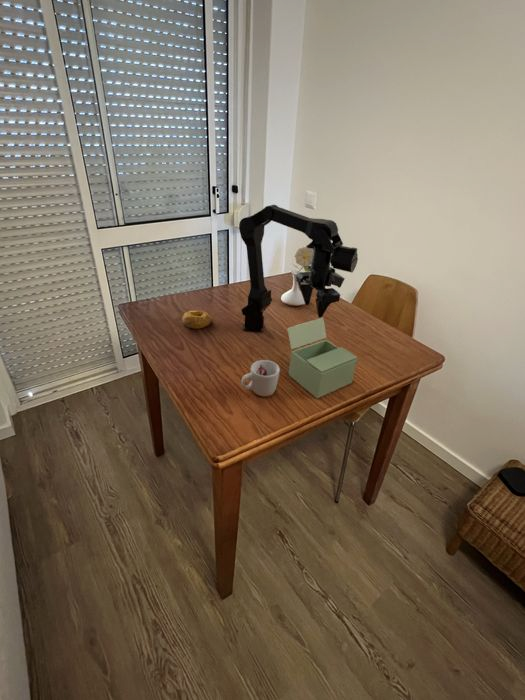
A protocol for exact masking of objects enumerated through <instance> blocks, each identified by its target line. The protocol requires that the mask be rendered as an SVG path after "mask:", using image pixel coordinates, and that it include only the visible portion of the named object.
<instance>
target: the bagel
mask: <svg viewBox="0 0 525 700" xmlns="http://www.w3.org/2000/svg"><path fill="white" fill-rule="evenodd" d="M181 320H182V323H183V324H184V325H185V326H186V327H187V328H190V329H195V330H197V329H198V330H199V329H204V328H206V327H208V326H209V325H210V324H211V323H212V322H213V317H211V315H209V313H208V312H206V311H205V310H189V311H187V312H185V313H184V314H183V315H182V319H181Z"/></svg>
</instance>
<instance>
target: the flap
mask: <svg viewBox="0 0 525 700" xmlns="http://www.w3.org/2000/svg"><path fill="white" fill-rule="evenodd" d="M286 329H287V334H288V339H289V340H288V341H289V346H290V350H295V349H298V348H301V347H304V346H307V345H310V344H313V343H316V342H319V341H322V340H325V339H327V332H326V325H325V319H324V317H320V318H319V317H318V318H316V319H312V320H310V321H306V322H303V323H300V324H296V325H293V326H289V327H287V328H286Z"/></svg>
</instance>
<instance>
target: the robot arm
mask: <svg viewBox="0 0 525 700" xmlns="http://www.w3.org/2000/svg"><path fill="white" fill-rule="evenodd" d="M271 222H274V223H277V224H280V225H283V226H285V227H288V228H290V229H293V230H296V231H298V232H301V233H303V235H305V236H306V237H307V238H308V239H309V240H311V242H309V243H308V244H307V245H306V246H305V247H307V248H310V249H313V253H312V260H311V265H309V266H308V270H310V271H309V272H306V271H302V272H299V273H298V274H297V277H296V281H297V282H298V288H299V290H300V291H301V293H302V296H303V299H304V302H305V304H304V305H305V306H309V304H310V302H311V298H312V294H313V290H314V289H315V290H316V298H315V305H316V313H317V317H318V319H319V318H323V316H324V314H325V312H326V311H327V309H328V308H329V306H330V305H331V304H335V303H338V302H340V299H341V294H340V293H339V292H338V291H337V290H336V289H334V288H333V287H332V286H336V287H337V288H339V289H340V288H341V287H342V285H343V283H344V281H345V277H344V276H342V275H340V274H339V273H338V272H336V270H339V271H343V272H347V273H351V274H352V273H354V272H355V269H356V268H357V265H358V260H359V258H358V255H359V254H358V248H357V247H354V246H353V247H349V246H345V245H344V243H343V240H342V238H341V236H340V234H339V227H338V225H337V223H336V222H335V221H334V220H332V219H325V218H312V217H308V216H305V215H303V214H300V213H297V212H294V211H291V210H289V209H286V208H283V207H280V206H279V205H277V204H271V205H266V206H265V207H263V208H262V209H261V210H259V211H257V212H256V213H254V214H252V215H249V216H246V217H243V218H242V219H240V221H239V223H238V230H239V234H240V238H241V240H242V241H243V243H244V245H245V247H246V256H247V265H248V274H249V284H250V289H249V292H248V294H247V305H245V306H244V307H243V308H241V310H240V311H241V314H242V316H244V326H243V331H247V332H256V333H261V332H262V330H263V329H264V326H265V315H264V311H266V309H267V308H269V307H270V305H271V304H272V301H273V298H272V290H271V289H268V288H267V287H266V285H265V275H264V263H263V251H262V242H263V239H264V235H265V226H267V225H269V224H270V223H271ZM326 287H329V288H326Z"/></svg>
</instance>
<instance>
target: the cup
mask: <svg viewBox="0 0 525 700" xmlns="http://www.w3.org/2000/svg"><path fill="white" fill-rule="evenodd" d="M280 372H281V368H280V366H279V365H278V364H277V363H276V362H275V361H271V360H269V359H261V360H260V359H259V360H257V361H255V362H253V363H252V364H251V366H250V372H249V373H246V374H244V375H243V376H242V378H241V381H240V382H241V386H242V388H243V389H245V390H252V391H253V393H254V394H255V395H257V396H259V397H270V396H272V395H274V393H275V392H276V389H277V386H278V382H279V377H280ZM248 379H249V380H250V382H249V383H248V384H246V381H247V380H248Z"/></svg>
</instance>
